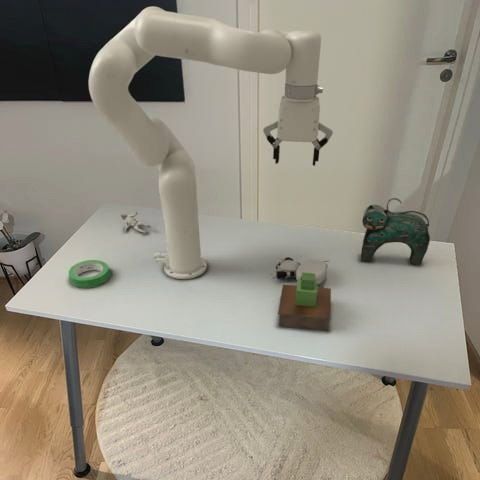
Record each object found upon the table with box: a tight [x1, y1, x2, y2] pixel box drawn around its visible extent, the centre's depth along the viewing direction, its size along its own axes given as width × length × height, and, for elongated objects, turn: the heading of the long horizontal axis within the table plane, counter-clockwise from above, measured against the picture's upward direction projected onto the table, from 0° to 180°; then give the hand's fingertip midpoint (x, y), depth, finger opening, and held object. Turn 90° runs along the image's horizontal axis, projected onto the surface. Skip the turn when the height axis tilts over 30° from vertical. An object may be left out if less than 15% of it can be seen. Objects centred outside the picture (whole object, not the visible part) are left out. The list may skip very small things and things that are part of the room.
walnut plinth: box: [277, 284, 332, 332], centre depth 118 cm, size 13×13×4 cm
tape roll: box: [68, 259, 111, 289], centre depth 133 cm, size 11×11×3 cm
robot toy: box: [270, 256, 331, 285], centre depth 132 cm, size 12×4×15 cm
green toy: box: [295, 272, 319, 307], centre depth 114 cm, size 5×5×7 cm
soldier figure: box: [120, 211, 151, 235], centre depth 156 cm, size 8×5×12 cm
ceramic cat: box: [360, 197, 431, 266], centre depth 134 cm, size 20×6×20 cm, turn 80°
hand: (295, 162), depth 121 cm, fingers open, 9 cm apart
